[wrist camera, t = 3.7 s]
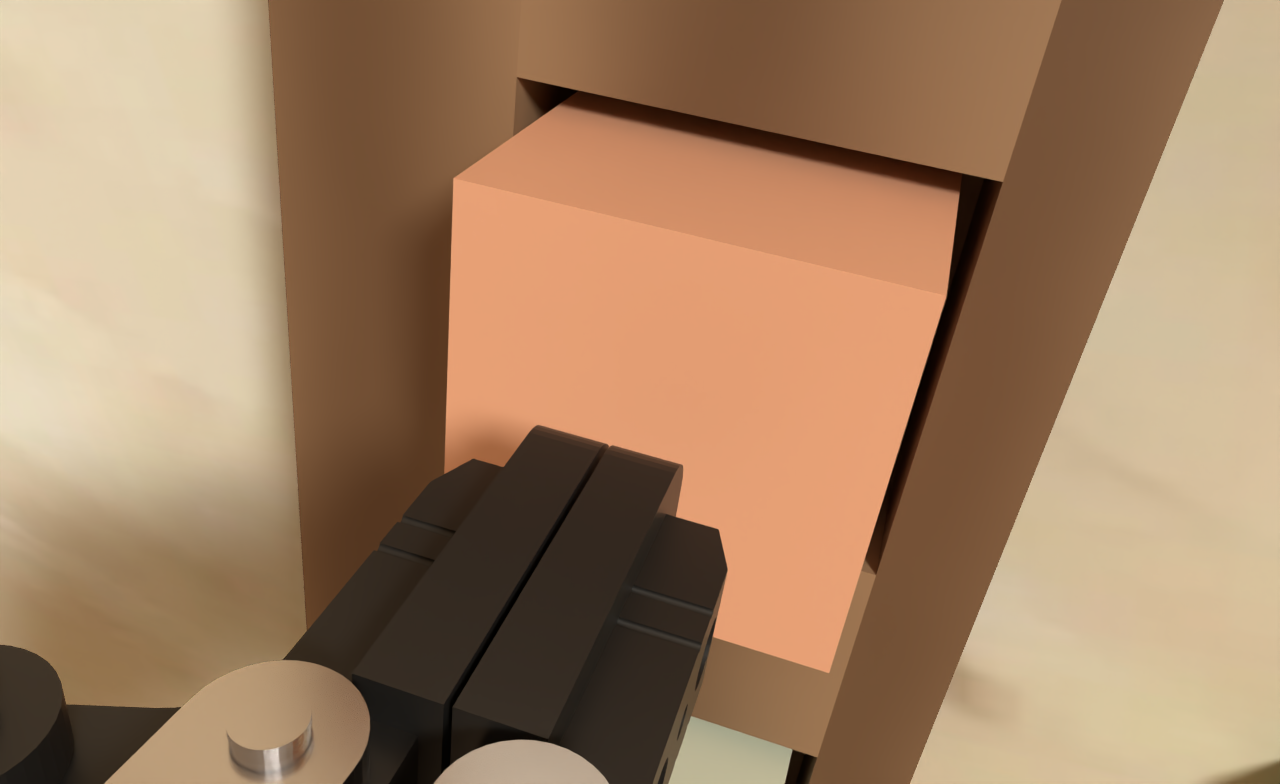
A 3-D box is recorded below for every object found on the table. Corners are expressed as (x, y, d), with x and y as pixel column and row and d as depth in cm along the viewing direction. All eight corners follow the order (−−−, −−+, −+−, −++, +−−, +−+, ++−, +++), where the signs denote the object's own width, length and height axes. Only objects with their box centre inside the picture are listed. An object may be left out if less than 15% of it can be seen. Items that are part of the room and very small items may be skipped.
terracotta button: (962, 170, 13) (946, 295, 10) (866, 491, 16) (828, 673, 13) (581, 89, 14) (452, 178, 11) (551, 404, 17) (442, 551, 14)
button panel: (1630, -1296, 9) (2060, -2050, 5) (834, 872, 24) (803, 1056, 21) (424, -1249, 11) (134, -1764, 7) (406, 723, 27) (313, 868, 23)
